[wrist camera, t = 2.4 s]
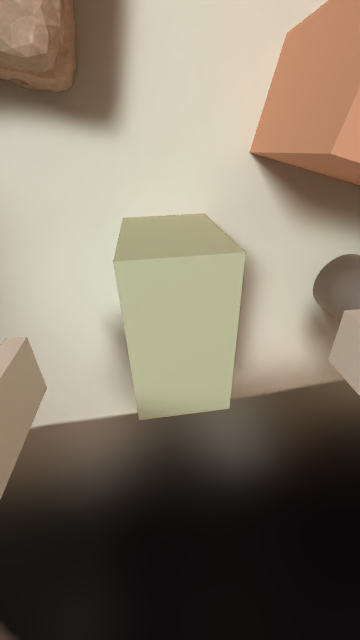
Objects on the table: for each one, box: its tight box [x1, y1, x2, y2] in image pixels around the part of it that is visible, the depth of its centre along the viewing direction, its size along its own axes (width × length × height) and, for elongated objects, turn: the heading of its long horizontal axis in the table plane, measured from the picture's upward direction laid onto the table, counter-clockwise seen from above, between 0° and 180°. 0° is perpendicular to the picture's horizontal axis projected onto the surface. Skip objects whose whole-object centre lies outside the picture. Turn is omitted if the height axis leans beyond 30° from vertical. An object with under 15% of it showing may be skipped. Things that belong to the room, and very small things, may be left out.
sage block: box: [113, 214, 246, 420], centre depth 14 cm, size 4×8×7 cm, turn 2°
